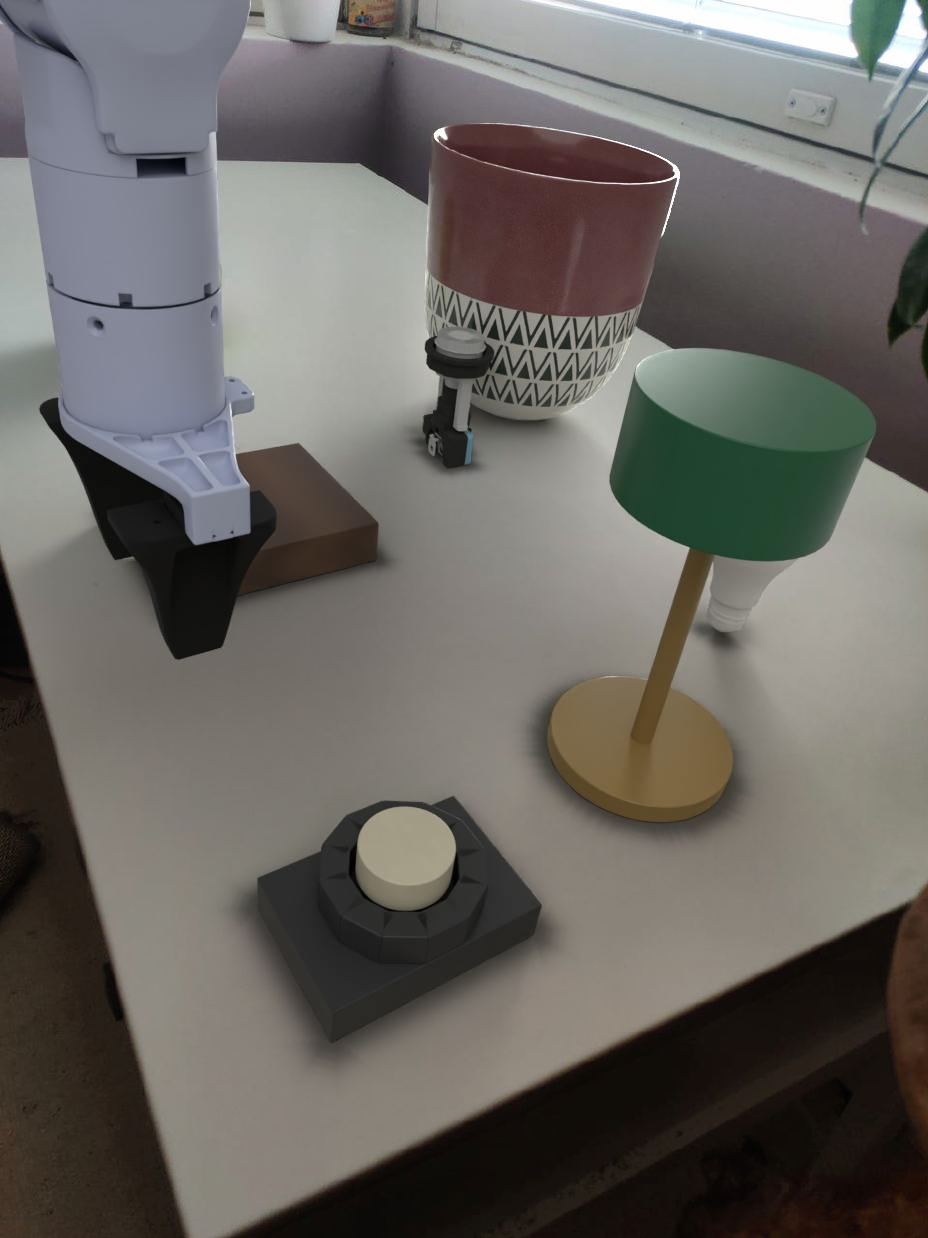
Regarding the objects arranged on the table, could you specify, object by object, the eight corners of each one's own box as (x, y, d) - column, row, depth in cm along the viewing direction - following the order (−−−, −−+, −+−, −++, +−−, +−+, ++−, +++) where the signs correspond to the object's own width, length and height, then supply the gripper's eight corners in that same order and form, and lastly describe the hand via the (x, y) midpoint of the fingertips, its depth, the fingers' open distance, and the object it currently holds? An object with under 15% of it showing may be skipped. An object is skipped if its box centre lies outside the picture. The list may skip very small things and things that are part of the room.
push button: (396, 436, 78) (406, 318, 72) (451, 428, 81) (465, 313, 75) (433, 473, 74) (447, 351, 68) (491, 464, 76) (509, 345, 70)
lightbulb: (774, 621, 63) (833, 477, 57) (758, 670, 59) (819, 520, 52) (687, 591, 65) (734, 447, 58) (664, 637, 60) (712, 487, 54)
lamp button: (385, 927, 37) (388, 900, 36) (338, 854, 39) (339, 827, 38) (469, 887, 39) (475, 860, 38) (419, 820, 41) (423, 793, 40)
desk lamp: (629, 851, 46) (763, 470, 33) (510, 723, 52) (585, 362, 39) (765, 781, 51) (926, 428, 38) (642, 672, 57) (746, 337, 44)
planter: (453, 464, 75) (490, 178, 62) (380, 366, 89) (398, 116, 76) (658, 448, 82) (729, 188, 69) (560, 360, 96) (605, 130, 83)
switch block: (331, 1044, 36) (335, 987, 34) (257, 908, 41) (256, 849, 38) (534, 935, 41) (550, 878, 39) (449, 825, 46) (458, 768, 43)
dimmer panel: (150, 640, 54) (146, 596, 52) (79, 520, 63) (73, 479, 61) (391, 576, 62) (395, 535, 60) (298, 478, 71) (299, 440, 69)
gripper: (337, 346, 30) (324, 670, 38) (174, 214, 39) (192, 499, 47) (111, 373, 26) (150, 724, 34) (-10, 221, 35) (44, 528, 43)
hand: (163, 597), depth 40 cm, fingers open, 7 cm apart
